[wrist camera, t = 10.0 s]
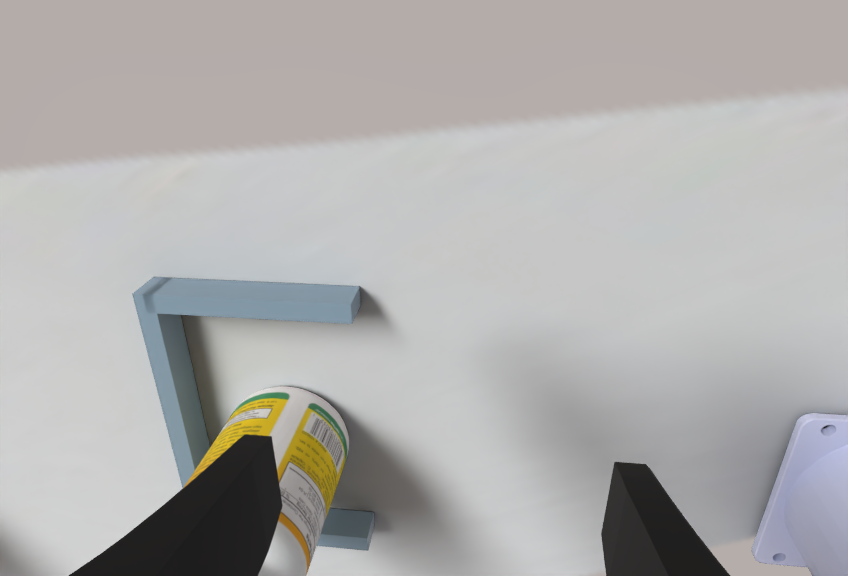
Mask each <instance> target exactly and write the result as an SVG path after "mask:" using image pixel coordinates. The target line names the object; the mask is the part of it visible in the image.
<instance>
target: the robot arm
mask: <svg viewBox="0 0 848 576" xmlns="http://www.w3.org/2000/svg"><path fill="white" fill-rule="evenodd" d="M826 425H829V427H827V428H825V429H822V428H823V427H824V426H826ZM282 506H283V505H282V498H281V492H280V486H279V479H278V473H277V467H276V460H275V454H274V448H273V442H272V436H262V435H249V434H244V435H243V436H242V437H241V438H240V439H239V440H237V441H236V442H235V443H234V444H233V445H232V446H231V447H229V448H228V449H227V450H226V451H225V452H224V453H223V454H221V455H220V456H219V457H218V458H217V459H216V460H215V461H214V462H213V463H211V464H210V465H209V466H208V467H207V468H206V469H205V470H204V471H202V472H201V473H200V474H199V475H198V476H197V477H196V478H195V479H193V480H192V481H191V482H190V483H189V484H188V485H187V486H185V487H184V488H183V489H182V490H181V491H180V492H178V493H177V494H176V495H175V496H174V497H173V498H171V499H170V500H169V501H168V502H167V503H166V504H164V505H163V506H162V507H161V508H160V509H158V510H157V511H156V512H155V513H153V514H152V515H151V516H149V517H148V518H147V519H146V520H144V521H143V522H142V523H141V524H139V525H138V526H137V527H136V528H134V529H133V530H132V531H131V532H129V533H128V534H127V535H126V536H124V537H123V538H122V539H120V540H119V541H118V542H116V543H115V544H114V545H112V546H111V547H109V548H108V549H107V550H105V551H104V552H103V553H101V554H100V555H98V556H97V557H95V558H94V559H93V560H91V561H90V562H88V563H87V564H85V565H84V566H82V567H81V568H79V569H78V570H76V571H75V572H73V573H72V574H71V575H69V576H258V574H259V572H260V570H261V568H262V565H263V563H264V561H265V558H266V556H267V554H268V551H269V548H270V545H271V542H272V539H273V536H274V533H275V530H276V526H277V523H278V520H279V516H280V513H281V510H282ZM601 534H602V543H603V552H604V560H605V568H606V576H730V575H729V574H728V573H727V571H726V570H725V569H724V568H723V566H722V565H721V564H720V563H719V562H718V560H717V559H716V558H715V557H714V556H713V554H712V553H711V551H710V550H709V549H708V548H707V546H706V545H705V544H704V542H703V541H702V540H701V539H700V537H699V536H698V535H697V534H696V532H695V531H694V530H693V528H692V527H691V526H690V524H689V523H688V522H687V520H686V519H685V518H684V516H683V515H682V513H681V512H680V511H679V509H678V508H677V507H676V505H675V504H674V502H673V501H672V500H671V498H670V497H669V495H668V494H667V493H666V491H665V490H664V488H663V487H662V485H661V484H660V483H659V481H658V480H657V478H656V477H655V475H654V474H653V472H652V471H651V469H650V468H649V467H648V466H647V465H646V464H635V463H622V462H615V463H614V468H613V473H612V479H611V484H610V490H609V495H608V501H607V506H606V512H605V517H604V522H603V528H602V533H601ZM752 553H753V556H754V558H755V559H756V560H757V561H758V562H760V563H765V564H776V565H787V566H800V567H808V569H809V570H810V572H811V574H812V576H848V415H836V414H820V413H809V414H806V415H803V416H802V417H800V418H799V419H798V421H797V422H796V425H795V427H794V430H793V433H792V436H791V439H790V442H789V444H788V447H787V450H786V453H785V456H784V459H783V461H782V464H781V467H780V470H779V473H778V476H777V478H776V481H775V484H774V487H773V490H772V493H771V495H770V498H769V501H768V504H767V507H766V510H765V512H764V515H763V518H762V521H761V524H760V527H759V529H758V532H757V535H756V538H755V541H754V544H753V547H752Z"/></svg>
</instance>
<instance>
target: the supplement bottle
mask: <svg viewBox="0 0 848 576" xmlns="http://www.w3.org/2000/svg"><path fill="white" fill-rule="evenodd" d="M244 434H249V435H262V436H272V442H273V448H274V454H275V460H276V467H277V473H278V479H279V486H280V492H281V498H282V505H283V506H282V510H281V513H280V516H279V520H278V523H277V526H276V530H275V533H274V536H273V539H272V542H271V545H270V548H269V551H268V554H267V556H266V558H265V561H264V563H263V565H262V568H261V570H260V572H259V574H258V576H306V574H307V572H308V569H309V566H310V563H311V560H312V557H313V554H314V551H315V548H316V545H317V543H318V540H319V537H320V534H321V531H322V528H323V525H324V522H325V519H326V516H327V514H328V511H329V508H330V505H331V502H332V500H333V497H334V494H335V491H336V488H337V485H338V482H339V479H340V476H341V473H342V470H343V468H344V465H345V461H346V459H347V456H348V451H349V436H348V432H347V429H346V426H345V423H344V421H343V419H342V418H341V416H340V415H339V413H338V412H337V411H336V410H335V409H334V408H333V407H332V406H331V405H330V404H329V403H328V402H326V401H325V400H324V399H322V398H321V397H319V396H317V395H315V394H313V393H311V392H309V391H306V390H303V389H299V388H295V387H286V386H280V387H272V388H267V389H263V390H260V391H257V392H255V393H253V394H251V395H249V396H248V397H246V398H245V399H244V400H243V401H242V402H241V403H240V404H239V405H238V407H237V408H236V409H235V411H234V412H233V414H232V415H231V417H230V418H229V420H228V421H227V423H226V425H225V426H224V427H223V429H222V430H221V432H220V433H219V435H218V437H217V438H216V440H215V441H214V443H213V444H212V446H211V447H210V448H209V450H208V452H207V453H206V455H205V456H204V458H203V459H202V461H201V462H200V464H199V465H198V466H197V468H196V470H195V471H194V473H193V474H192V476H191V477H190V479H189V480H188V482H187V483H186V484H185V486H187V485H188V484H189V483H190V482H191V481H192V480H193V479H195V478H196V477H197V476H198V475H199V474H200V473H201V472H202V471H204V470H205V469H206V468H207V467H208V466H209V465H210V464H211V463H213V462H214V461H215V460H216V459H217V458H218V457H219V456H220V455H221V454H223V453H224V452H225V451H226V450H227V449H228V448H229V447H231V446H232V445H233V444H234V443H235V442H236V441H237V440H239V439H240V438H241V437H242V436H243V435H244ZM185 486H184V487H185ZM184 487H183V488H184Z"/></svg>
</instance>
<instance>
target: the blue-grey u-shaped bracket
mask: <svg viewBox="0 0 848 576" xmlns="http://www.w3.org/2000/svg"><path fill="white" fill-rule="evenodd" d="M133 298H134V302H135V306H136V310H137V314H138V318H139V321H140V325H141V329H142V333H143V337H144V341H145V345H146V348H147V352H148V356H149V360H150V364H151V368H152V372H153V375H154V379H155V383H156V387H157V391H158V395H159V399H160V402H161V406H162V410H163V414H164V418H165V422H166V426H167V429H168V433H169V437H170V441H171V445H172V449H173V453H174V456H175V460H176V464H177V468H178V472H179V476H180V480H181V483H182V487H184V486H185V484H186V483H187V482H188V480H189V479H190V477H191V476H192V474H193V473H194V471H195V470H196V468H197V466H198V465H199V464H200V462H201V461H202V459H203V458H204V456H205V455H206V453H207V452H208V450H209V448H210V445H209V440H208V436H207V431H206V427H205V422H204V418H203V413H202V409H201V404H200V400H199V395H198V391H197V386H196V382H195V377H194V372H193V368H192V363H191V359H190V354H189V350H188V345H187V341H186V336H185V332H184V327H183V323H182V318H181V315H194V316H213V317H232V318H251V319H270V320H289V321H308V322H327V323H346V324H352V323H353V321H354V318H355V316H356V314H357V312H358V310H359V307H360V305H361V302H360V286H339V285H317V284H295V283H273V282H251V281H229V280H208V279H186V278H164V277H153V278H152V279H151V280H149V281H148V282H147V283H145V284H144V285H143V286H142V287H140V288H139V289H138V290H137V291H135V292H134V293H133ZM373 528H374V512H365V511H353V510H342V509H331V508H329V511H328V514H327V516H326V519H325V522H324V525H323V528H322V531H321V534H320V537H319V540H318V543H317V545H316V546H326V547H336V548H347V549H357V550H368V549H369V545H370V541H371V537H372V533H373Z"/></svg>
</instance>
